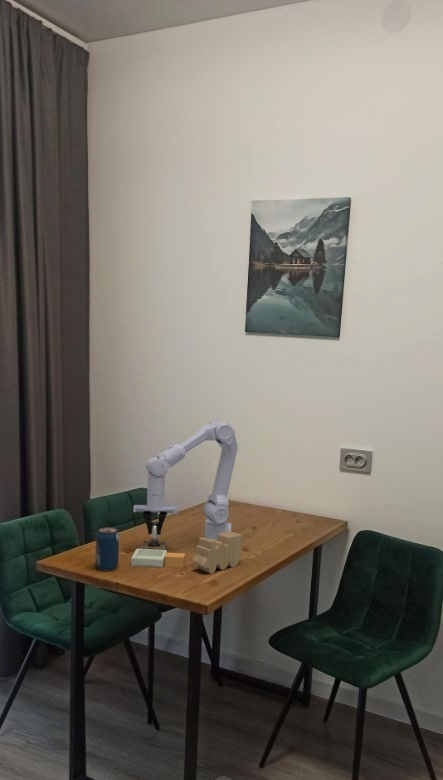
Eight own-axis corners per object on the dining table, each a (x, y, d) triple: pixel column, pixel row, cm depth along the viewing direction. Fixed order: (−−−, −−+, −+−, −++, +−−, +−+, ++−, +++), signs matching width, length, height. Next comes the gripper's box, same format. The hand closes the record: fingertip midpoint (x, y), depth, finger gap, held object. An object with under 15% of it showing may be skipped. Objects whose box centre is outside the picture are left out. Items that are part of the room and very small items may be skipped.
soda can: (121, 566, 200) (123, 528, 200) (111, 573, 194) (112, 533, 193) (102, 563, 202) (103, 525, 202) (90, 569, 196) (92, 531, 195)
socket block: (167, 549, 219) (167, 542, 219) (164, 556, 211) (164, 549, 211) (143, 548, 220) (144, 540, 220) (139, 555, 212) (140, 547, 212)
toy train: (191, 571, 199) (192, 539, 198) (230, 560, 211) (231, 530, 210) (203, 576, 195) (205, 543, 194) (242, 564, 207) (243, 534, 206)
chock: (184, 564, 205) (185, 553, 205) (183, 568, 201) (183, 557, 201) (165, 563, 205) (166, 552, 205) (164, 567, 201) (164, 556, 201)
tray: (166, 557, 210) (167, 550, 210) (162, 567, 200) (163, 559, 200) (136, 556, 211) (136, 548, 211) (130, 566, 201) (131, 558, 201)
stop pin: (158, 543, 217) (159, 521, 216) (157, 545, 214) (158, 523, 214) (150, 542, 217) (151, 521, 216) (149, 544, 214) (150, 523, 214)
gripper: (178, 492, 218) (177, 531, 219) (136, 490, 219) (135, 529, 220) (176, 496, 211) (175, 537, 212) (132, 494, 212) (131, 535, 212)
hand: (154, 533), depth 215 cm, fingers closed on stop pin, 3 cm apart
